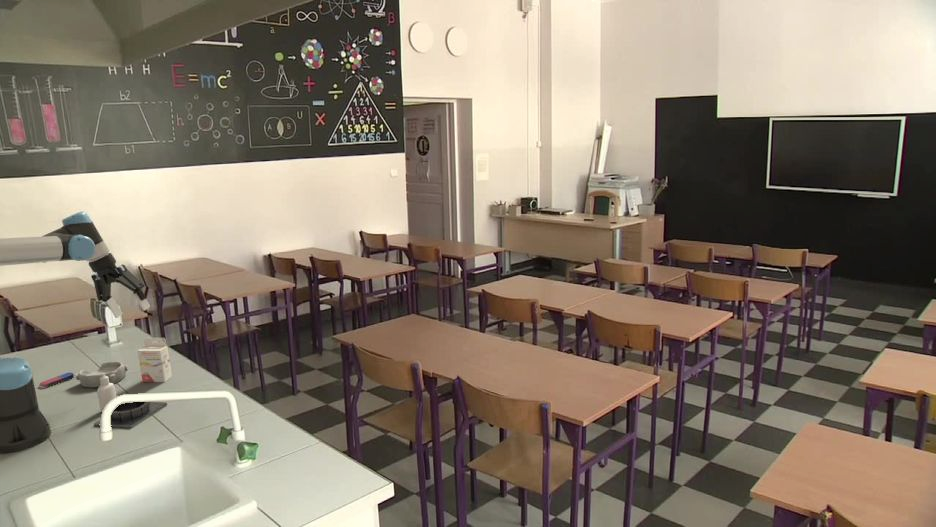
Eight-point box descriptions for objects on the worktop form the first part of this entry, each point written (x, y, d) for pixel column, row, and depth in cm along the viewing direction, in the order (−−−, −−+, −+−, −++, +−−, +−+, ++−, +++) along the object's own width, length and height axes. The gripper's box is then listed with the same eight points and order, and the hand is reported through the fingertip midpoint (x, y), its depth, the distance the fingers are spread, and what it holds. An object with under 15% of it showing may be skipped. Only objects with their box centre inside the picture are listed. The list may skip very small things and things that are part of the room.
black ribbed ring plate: (131, 428, 192) (130, 417, 192) (94, 425, 195) (92, 415, 194) (167, 404, 208) (165, 395, 207) (131, 403, 210) (130, 393, 210)
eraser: (43, 390, 226) (42, 385, 226) (37, 388, 228) (36, 383, 228) (76, 378, 235) (75, 373, 235) (70, 376, 237) (69, 371, 237)
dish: (71, 388, 226) (69, 374, 225) (102, 373, 239) (100, 360, 238) (107, 390, 223) (104, 376, 222) (136, 374, 236) (134, 361, 235)
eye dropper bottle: (97, 411, 206) (90, 375, 203) (115, 404, 210) (109, 369, 207) (103, 414, 203) (96, 377, 200) (122, 407, 207) (115, 371, 205)
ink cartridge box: (141, 382, 228) (135, 342, 224) (149, 377, 232) (143, 337, 229) (165, 382, 227) (158, 341, 224) (172, 376, 232) (166, 337, 228)
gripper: (133, 244, 213) (166, 300, 220) (83, 260, 223) (116, 313, 230) (116, 253, 206) (151, 311, 213) (65, 270, 216) (100, 324, 223)
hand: (133, 312), depth 222 cm, fingers open, 13 cm apart
